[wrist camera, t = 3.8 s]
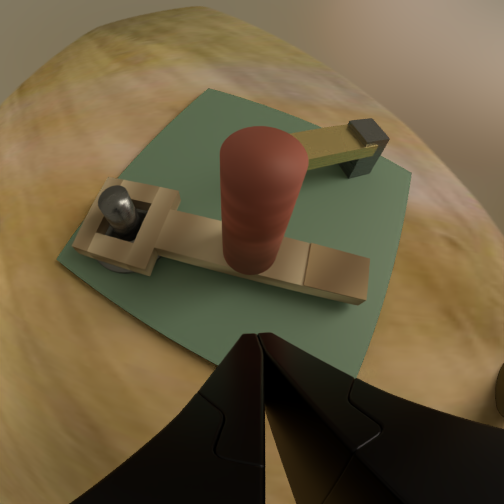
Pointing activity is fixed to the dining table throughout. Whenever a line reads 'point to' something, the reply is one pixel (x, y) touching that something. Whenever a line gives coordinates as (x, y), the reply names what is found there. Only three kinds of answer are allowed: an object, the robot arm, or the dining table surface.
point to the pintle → (120, 219)
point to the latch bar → (234, 224)
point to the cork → (500, 391)
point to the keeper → (345, 146)
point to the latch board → (299, 228)
